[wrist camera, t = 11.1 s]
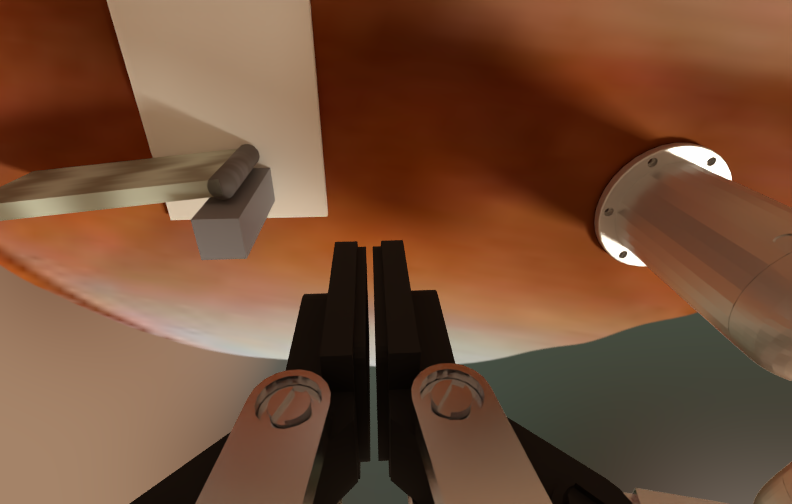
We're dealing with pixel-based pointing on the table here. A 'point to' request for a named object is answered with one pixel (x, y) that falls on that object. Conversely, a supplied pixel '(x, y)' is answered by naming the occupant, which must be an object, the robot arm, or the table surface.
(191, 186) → the gate leaf
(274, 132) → the base
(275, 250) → the table surface
